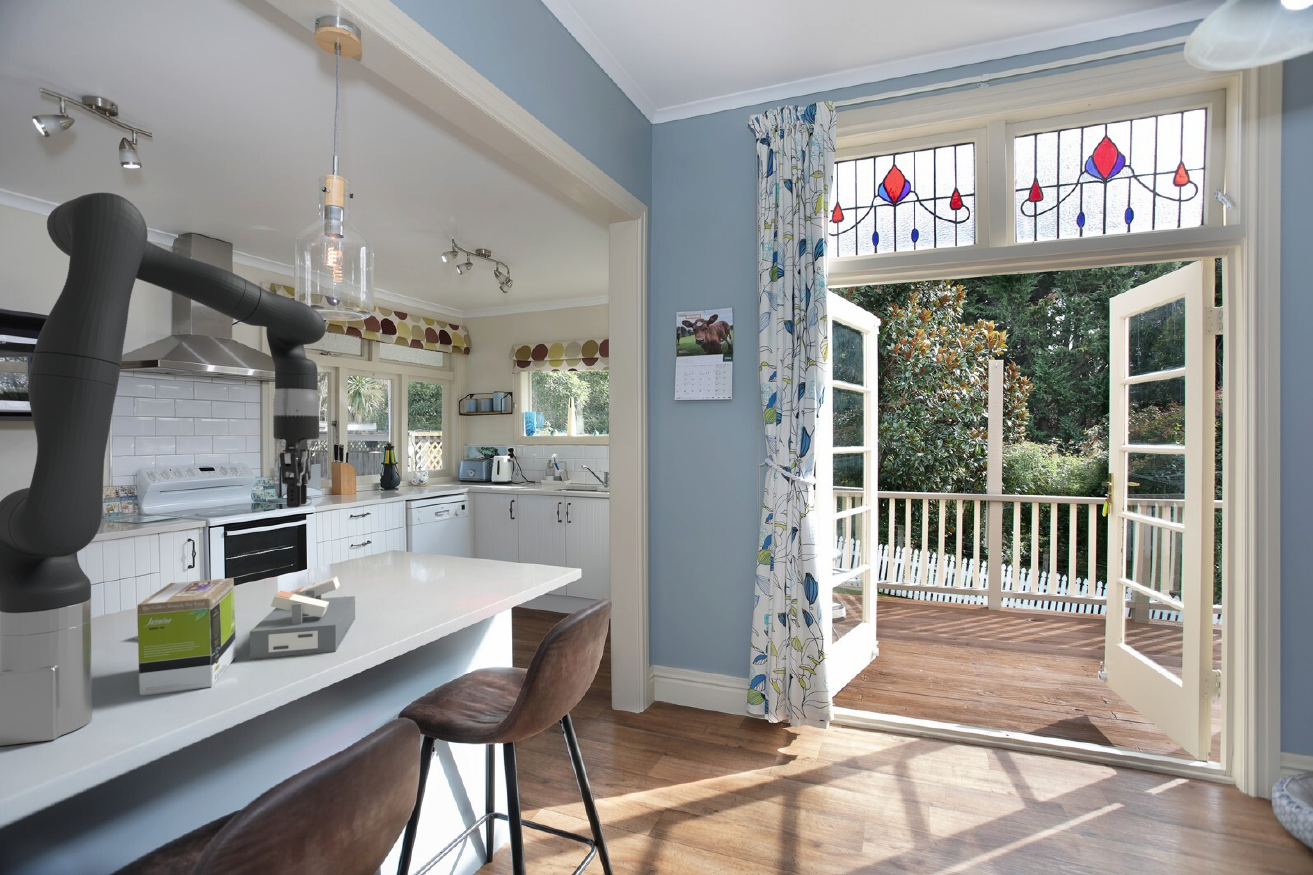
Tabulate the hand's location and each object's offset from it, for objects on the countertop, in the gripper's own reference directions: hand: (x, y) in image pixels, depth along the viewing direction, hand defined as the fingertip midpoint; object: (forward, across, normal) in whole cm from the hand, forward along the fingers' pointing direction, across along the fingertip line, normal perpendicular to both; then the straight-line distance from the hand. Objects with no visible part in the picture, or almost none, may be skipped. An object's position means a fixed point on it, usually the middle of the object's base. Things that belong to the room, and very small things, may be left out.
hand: (297, 505), depth 120 cm
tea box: (+28, -9, +14) cm, 32 cm away
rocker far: (+19, +14, 0) cm, 24 cm away
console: (+27, +8, 0) cm, 28 cm away
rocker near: (+19, +2, 0) cm, 19 cm away
